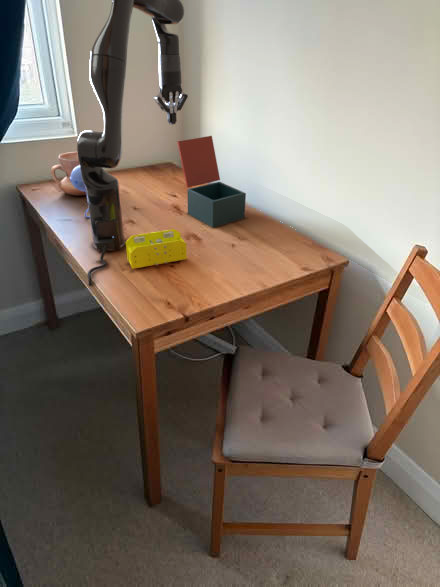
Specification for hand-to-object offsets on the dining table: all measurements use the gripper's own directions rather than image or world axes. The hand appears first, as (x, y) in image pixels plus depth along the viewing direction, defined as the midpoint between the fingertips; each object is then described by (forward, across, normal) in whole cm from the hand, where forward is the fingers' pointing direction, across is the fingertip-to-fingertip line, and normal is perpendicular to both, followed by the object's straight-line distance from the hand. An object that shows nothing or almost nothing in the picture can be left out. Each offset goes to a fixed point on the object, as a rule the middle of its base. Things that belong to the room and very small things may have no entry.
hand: (172, 123), depth 161 cm
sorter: (+28, +2, -23) cm, 36 cm away
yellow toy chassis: (+29, -33, -40) cm, 59 cm away
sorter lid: (+10, +1, -14) cm, 18 cm away
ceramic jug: (+26, -28, +26) cm, 46 cm away
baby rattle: (+27, -35, 0) cm, 44 cm away
